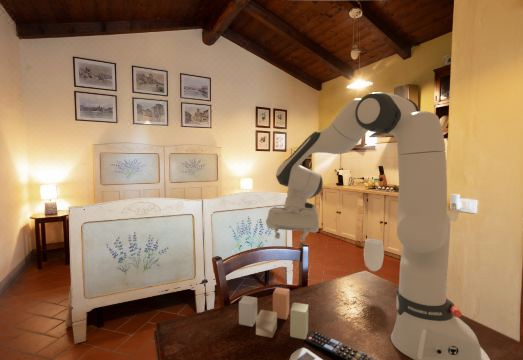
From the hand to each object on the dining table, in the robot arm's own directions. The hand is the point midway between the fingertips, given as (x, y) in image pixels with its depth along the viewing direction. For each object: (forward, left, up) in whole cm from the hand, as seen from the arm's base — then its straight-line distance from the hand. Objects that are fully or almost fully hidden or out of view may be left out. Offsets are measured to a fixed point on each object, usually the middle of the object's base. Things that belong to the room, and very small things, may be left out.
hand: (289, 239), depth 101 cm
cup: (-30, -13, -22) cm, 39 cm away
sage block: (-8, +20, -22) cm, 31 cm away
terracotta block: (0, +12, -22) cm, 25 cm away
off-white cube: (+2, +22, -22) cm, 32 cm away
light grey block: (+9, +19, -22) cm, 31 cm away
